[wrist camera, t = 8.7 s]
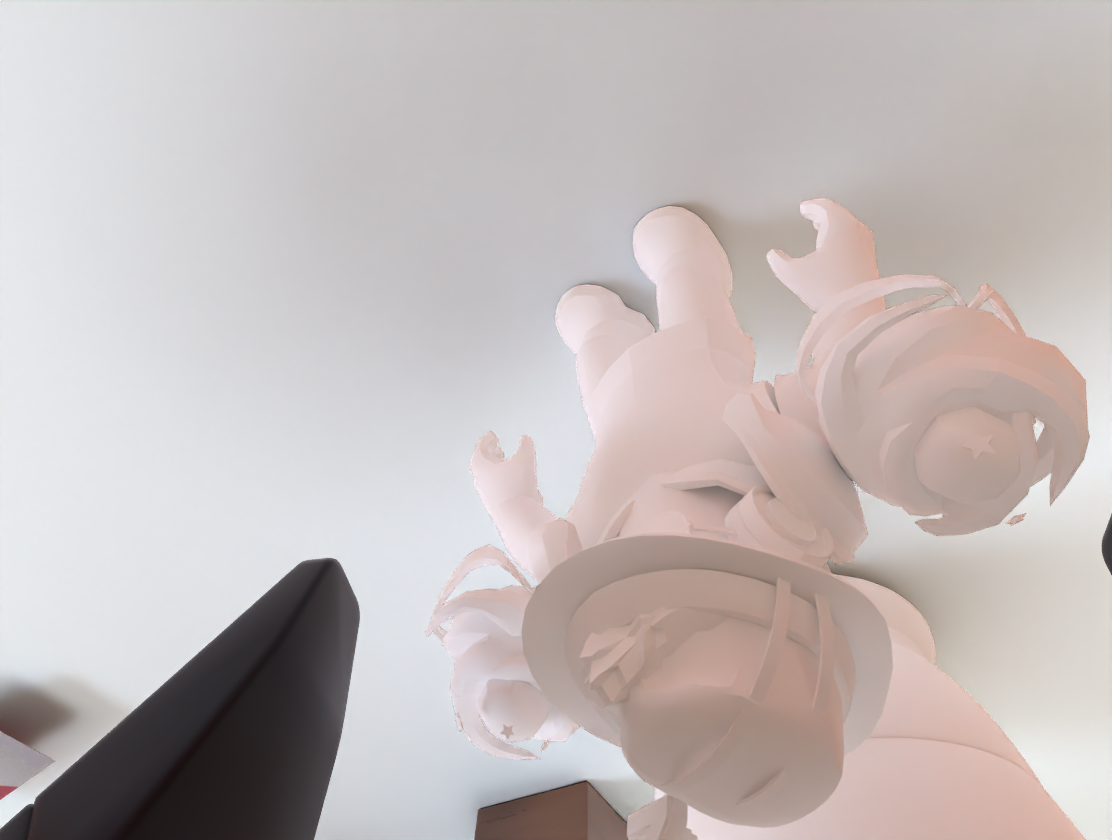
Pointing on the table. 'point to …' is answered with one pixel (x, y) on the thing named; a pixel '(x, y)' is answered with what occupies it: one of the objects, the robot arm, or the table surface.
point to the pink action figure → (742, 519)
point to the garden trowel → (18, 763)
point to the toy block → (553, 817)
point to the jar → (920, 763)
